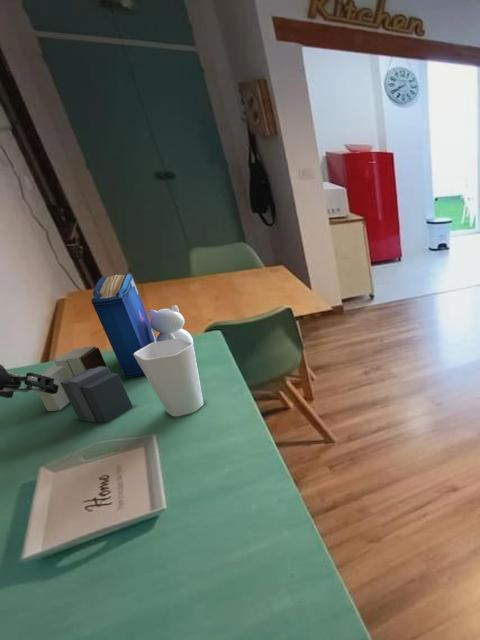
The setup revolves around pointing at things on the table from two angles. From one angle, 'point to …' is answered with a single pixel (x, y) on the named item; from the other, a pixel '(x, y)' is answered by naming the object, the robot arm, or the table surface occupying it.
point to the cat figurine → (169, 324)
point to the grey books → (97, 395)
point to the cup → (172, 374)
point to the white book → (60, 398)
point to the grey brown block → (81, 360)
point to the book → (123, 319)
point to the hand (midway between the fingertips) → (33, 391)
